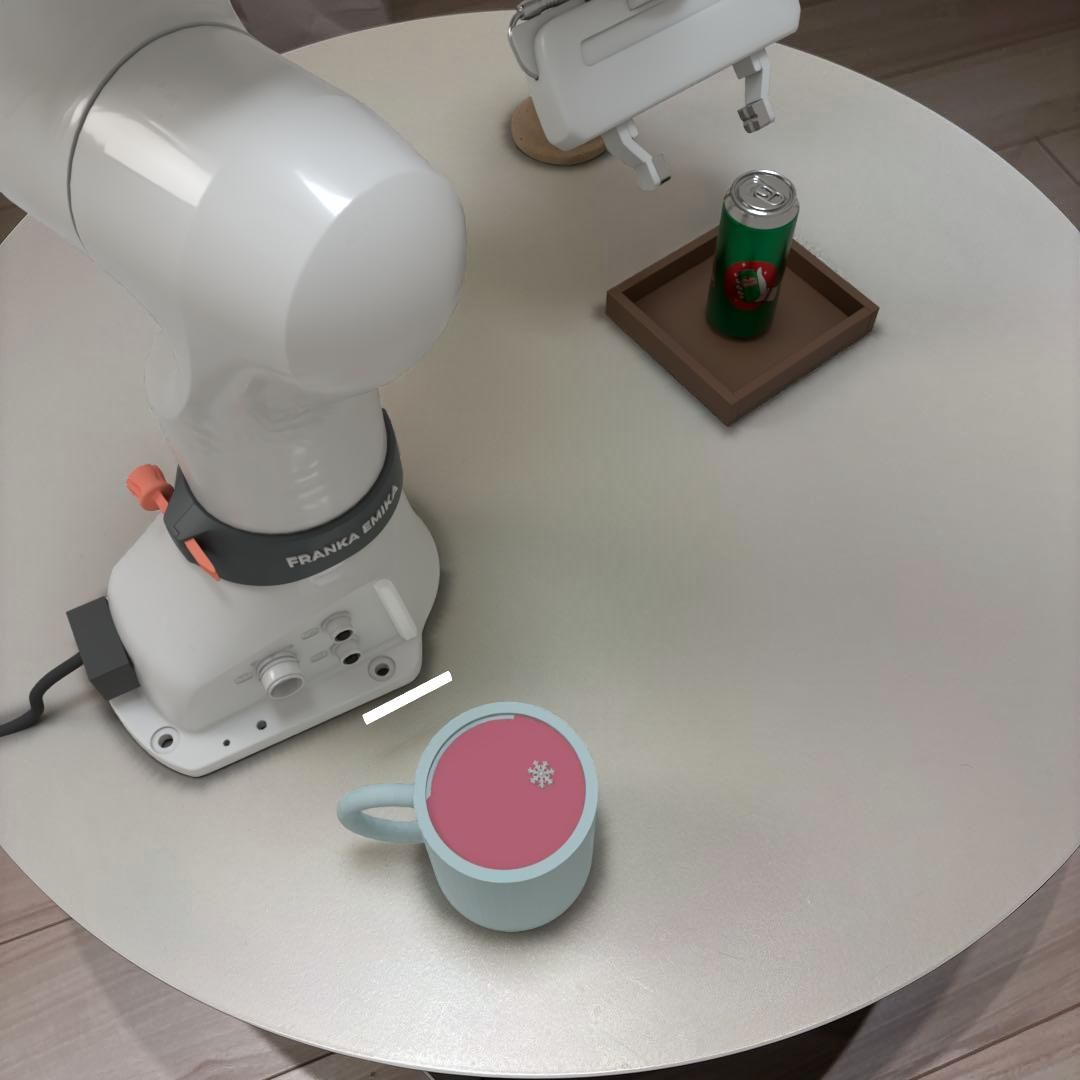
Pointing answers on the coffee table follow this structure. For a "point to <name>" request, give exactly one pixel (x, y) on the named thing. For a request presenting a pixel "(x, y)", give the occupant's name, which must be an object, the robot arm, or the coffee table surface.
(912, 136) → the coffee table surface
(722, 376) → the tray
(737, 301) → the soda can
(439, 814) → the mug
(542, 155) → the candle holder
